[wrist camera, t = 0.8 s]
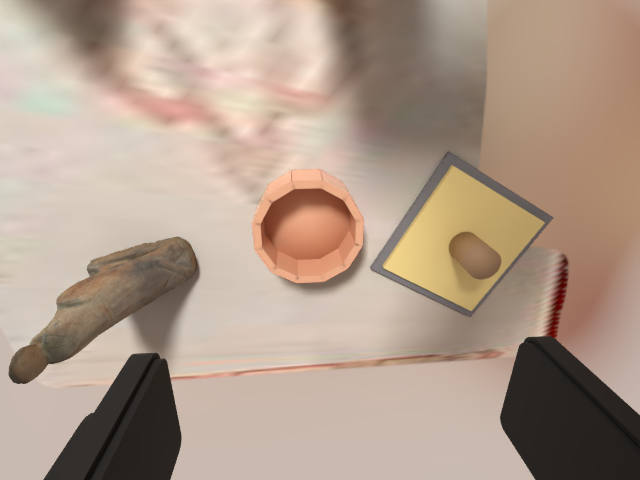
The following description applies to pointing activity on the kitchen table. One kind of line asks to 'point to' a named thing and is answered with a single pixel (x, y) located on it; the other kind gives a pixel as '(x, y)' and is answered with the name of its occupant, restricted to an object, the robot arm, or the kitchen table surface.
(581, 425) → the robot arm
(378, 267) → the mat
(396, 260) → the sheet
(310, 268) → the bowl
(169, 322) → the kitchen table surface
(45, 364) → the worn brown figurine
